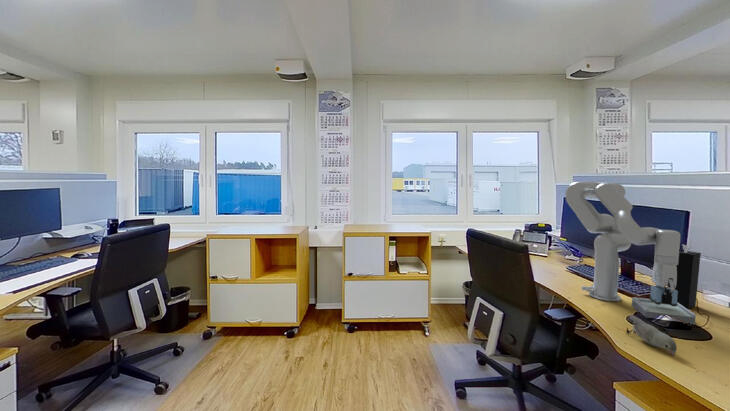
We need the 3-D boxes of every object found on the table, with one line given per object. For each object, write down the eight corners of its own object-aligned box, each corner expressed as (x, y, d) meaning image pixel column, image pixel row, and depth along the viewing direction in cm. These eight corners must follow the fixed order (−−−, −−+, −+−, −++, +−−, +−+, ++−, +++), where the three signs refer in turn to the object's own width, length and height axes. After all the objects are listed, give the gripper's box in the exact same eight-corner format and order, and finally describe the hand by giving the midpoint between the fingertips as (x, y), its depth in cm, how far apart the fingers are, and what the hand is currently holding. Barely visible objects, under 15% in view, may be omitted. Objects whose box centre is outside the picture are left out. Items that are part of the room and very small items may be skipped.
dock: (644, 318, 136) (645, 308, 136) (631, 306, 149) (632, 297, 149) (694, 324, 131) (695, 314, 130) (676, 311, 144) (677, 302, 143)
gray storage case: (654, 304, 138) (655, 288, 138) (649, 300, 143) (650, 285, 142) (677, 307, 136) (678, 291, 135) (671, 302, 140) (672, 287, 140)
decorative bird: (667, 357, 107) (669, 335, 106) (622, 334, 122) (624, 314, 122) (681, 356, 107) (683, 334, 107) (635, 333, 123) (637, 314, 122)
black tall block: (688, 309, 146) (694, 247, 144) (665, 303, 153) (671, 244, 151) (695, 306, 150) (701, 245, 148) (673, 300, 157) (678, 242, 155)
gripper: (646, 254, 147) (643, 294, 148) (664, 263, 131) (661, 307, 133) (667, 255, 144) (664, 296, 146) (688, 265, 129) (685, 310, 130)
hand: (663, 301), depth 139 cm, fingers closed on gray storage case, 5 cm apart
